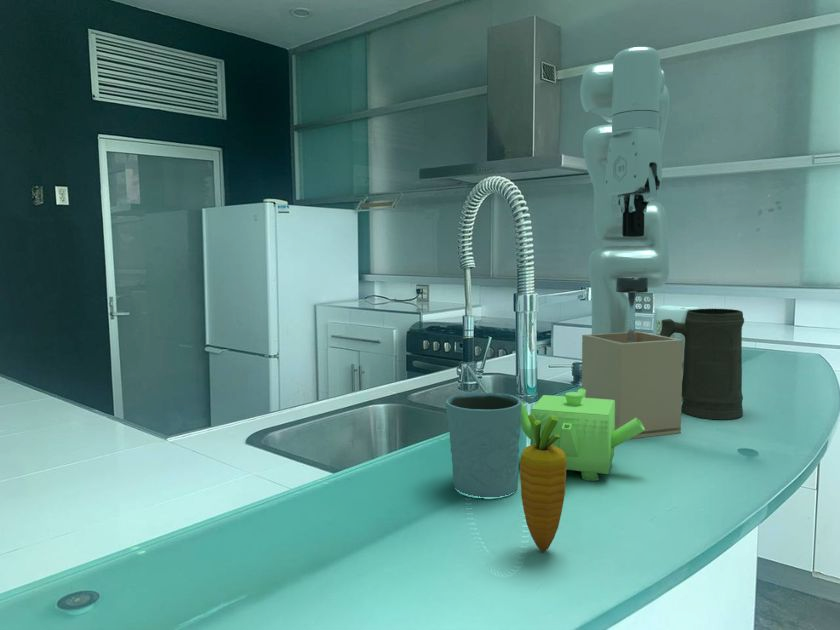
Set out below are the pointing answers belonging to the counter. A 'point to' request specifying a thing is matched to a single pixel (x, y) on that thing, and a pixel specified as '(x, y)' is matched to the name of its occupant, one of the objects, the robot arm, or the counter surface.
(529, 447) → the carrot
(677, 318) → the juice carton
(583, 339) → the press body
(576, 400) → the kettle
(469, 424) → the gray cup
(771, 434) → the counter surface
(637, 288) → the plunger
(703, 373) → the beer stein
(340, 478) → the counter surface
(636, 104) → the robot arm
